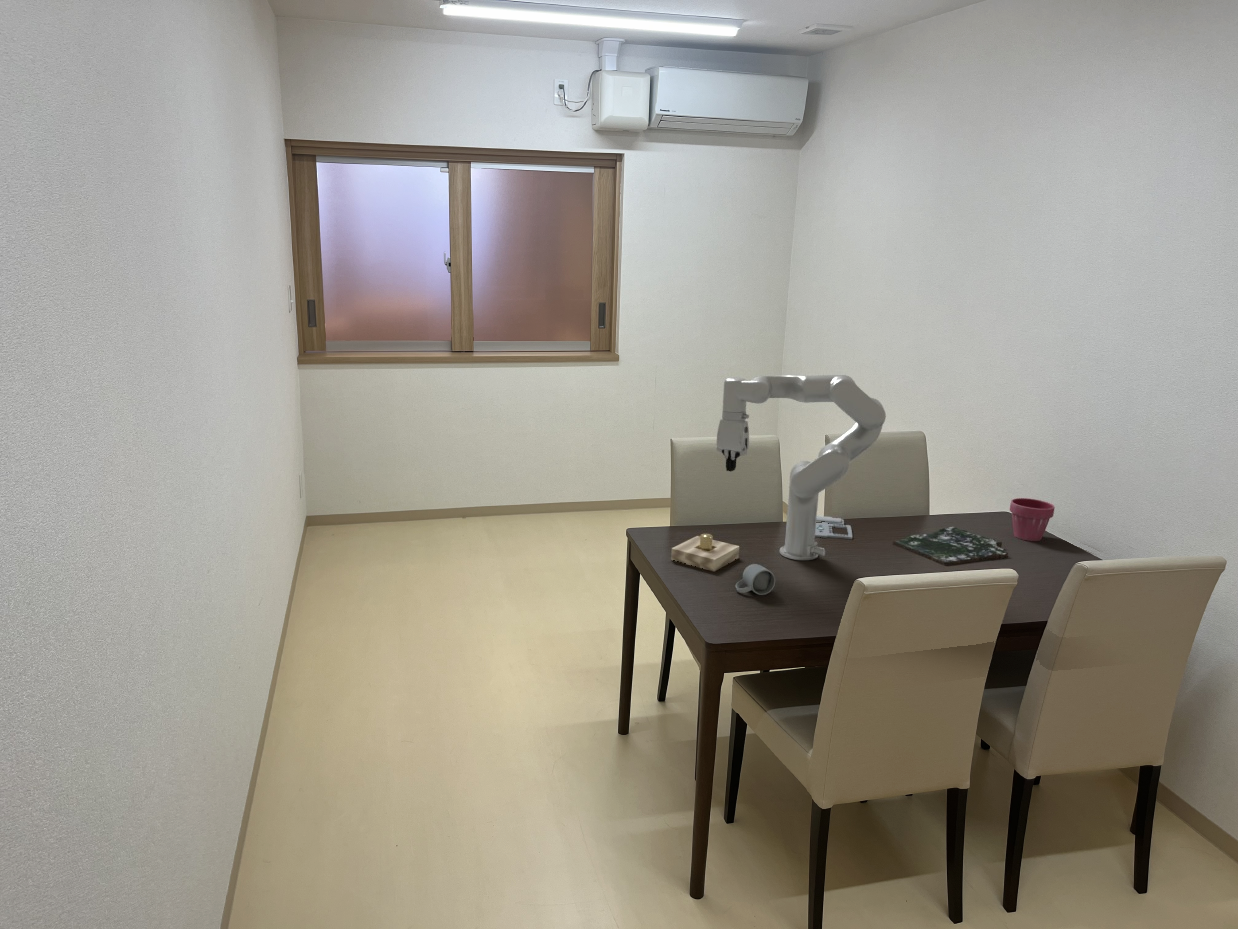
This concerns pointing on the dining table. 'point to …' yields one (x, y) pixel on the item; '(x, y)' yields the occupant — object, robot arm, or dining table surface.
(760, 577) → the ceramic mug
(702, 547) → the brass pin
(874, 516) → the dining table surface
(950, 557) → the topographical map
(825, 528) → the office telephone
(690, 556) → the block
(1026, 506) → the plant pot
